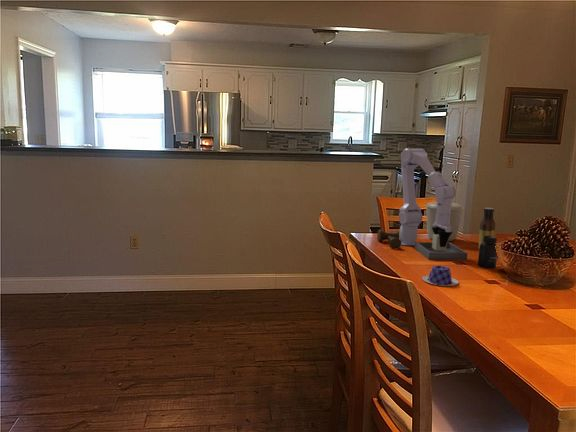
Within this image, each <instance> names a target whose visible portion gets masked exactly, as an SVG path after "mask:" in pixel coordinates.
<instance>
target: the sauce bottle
mask: <svg viewBox="0 0 576 432" xmlns="http://www.w3.org/2000/svg"><path fill="white" fill-rule="evenodd" d="M494 212H495V208H493V207H484V208H483V218H482V220H481V221H480V226H479V235H478V247H477V248H478V249H479V248H480V244H481V243H482V242H484V241H483V238H484V236H494V237H496V236H495V235H496V222H495V220H494Z"/></svg>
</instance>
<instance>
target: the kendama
mask: <svg viewBox="0 0 576 432" xmlns="http://www.w3.org/2000/svg"><path fill="white" fill-rule="evenodd" d="M399 234H400V231H399V230H394V231H393V232H385V231H384V230H382V229H378V230H377V237H376V238H377V242H378V241H379V243H381V242H384V241H385V240H387V243H388V245H389V247H390V249H394V248H397V249H400V247H401V246H402V244H401V241H400V239H399Z"/></svg>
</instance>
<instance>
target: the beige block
mask: <svg viewBox="0 0 576 432" xmlns="http://www.w3.org/2000/svg"><path fill="white" fill-rule="evenodd" d="M431 240H432V241H431V242H432V248H433V249H435V250H446V246H447V244H446V246H445V247H440V239H439V234H433V239H431Z"/></svg>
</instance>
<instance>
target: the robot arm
mask: <svg viewBox="0 0 576 432" xmlns="http://www.w3.org/2000/svg"><path fill="white" fill-rule="evenodd" d="M400 164H401V165H400V168H401V170H400V171H401V182H402V184H401V185H402V196H403V205H402V206H401V207H400V208H399V214H398V221H399V224H400V227H399V239H400V241H401V246H415V242H418V240H417V239H418V229H419V226H420V224H421V223H422V221H423V218H424V217H423V214H422V210H421V207H420V206H419V205H418V204H417V199H416V186H415V169H416V168H417V167H419V166H420V168H421V169H422V170H423V172H424V173H425V174H426V175H427V176H428V178H427V181H428V183H429V184H430V185H431V187H432V188H433V190H434V196H435V199H436V200H435V202H437V211H436V221H434V224H433V226H436V227H432V230H433V232H434V234H439V239H440V247H445V246H446V244H447V243H448V242H449V241H448V239H449V237H450V235H451V234H452V231H451V227H450V214H451V204H452V203H453V202H452V201H453V199H454V198H455V197H456V195H457V194H456V188H455V186H454V185H452V184H449V183H448V181H446V179H445V178H444V176H443V174H442V173H441V172H440V171H439V172H438V171H436V170H435V168H434V167H433V165H432V163H431V162H430V159H429V158H428V153H427V151H426V150H425V149H424V148H422V147H421V148H407V147H406V148H404V149H403V150H402V152H401V153H400Z"/></svg>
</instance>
